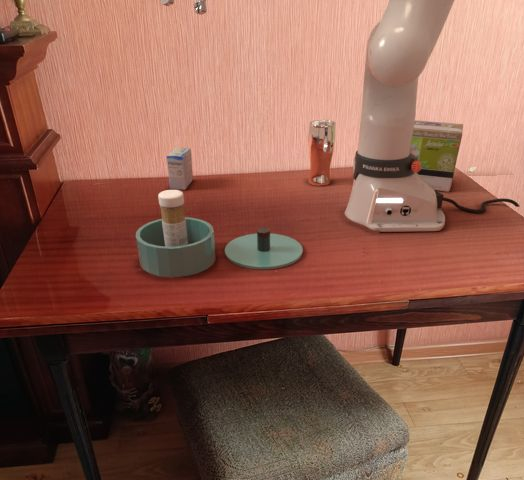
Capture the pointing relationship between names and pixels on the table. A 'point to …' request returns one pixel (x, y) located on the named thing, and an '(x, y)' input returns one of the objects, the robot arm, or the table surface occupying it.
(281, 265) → the pan lid
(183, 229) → the sprinkles bottle
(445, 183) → the tea box
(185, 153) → the medicine box
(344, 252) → the table surface
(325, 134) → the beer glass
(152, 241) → the pan
